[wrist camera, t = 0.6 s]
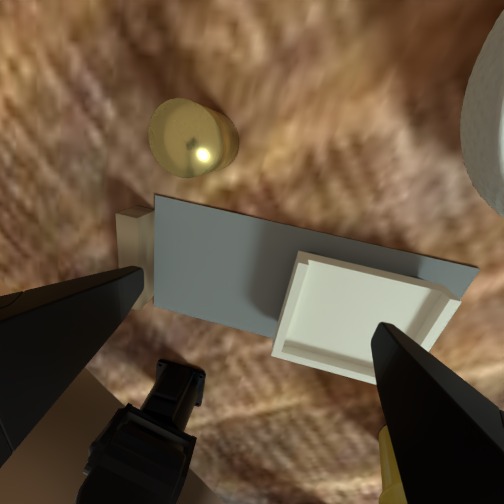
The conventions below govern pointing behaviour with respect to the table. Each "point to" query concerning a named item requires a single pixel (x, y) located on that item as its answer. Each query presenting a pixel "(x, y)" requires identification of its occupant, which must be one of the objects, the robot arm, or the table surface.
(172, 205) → the mat
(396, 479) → the plant pot
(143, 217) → the end stop
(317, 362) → the shallow square tray
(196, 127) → the solid brass cylinder
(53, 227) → the table surface
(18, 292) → the robot arm
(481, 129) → the cereal bowl
